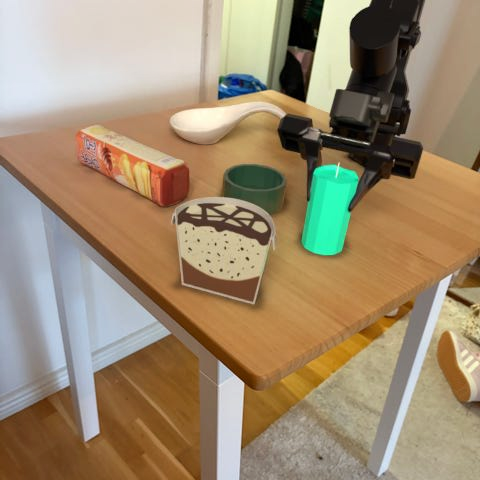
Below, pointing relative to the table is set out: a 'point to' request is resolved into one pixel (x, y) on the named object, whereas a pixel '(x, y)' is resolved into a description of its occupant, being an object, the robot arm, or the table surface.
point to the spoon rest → (217, 120)
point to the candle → (329, 209)
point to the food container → (223, 246)
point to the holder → (255, 186)
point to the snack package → (134, 164)
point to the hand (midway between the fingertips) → (328, 205)
